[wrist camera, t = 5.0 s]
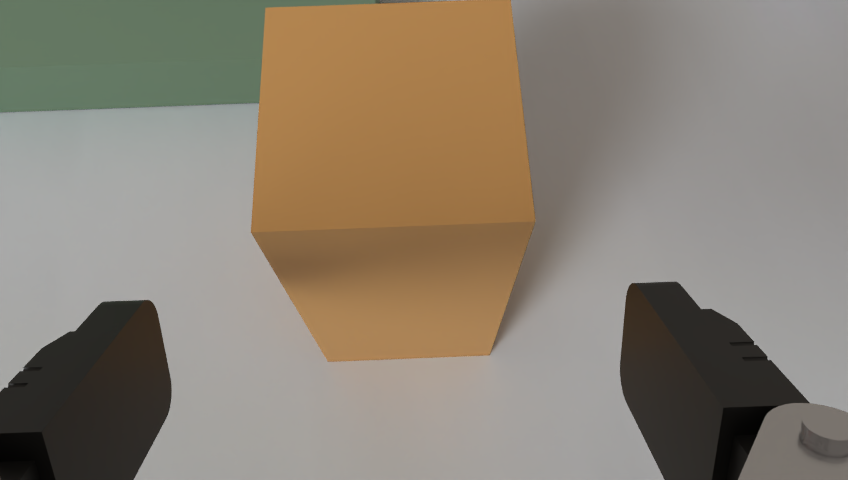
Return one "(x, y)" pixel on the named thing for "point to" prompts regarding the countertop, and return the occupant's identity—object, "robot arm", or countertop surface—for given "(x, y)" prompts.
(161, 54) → the green base plate
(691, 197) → the countertop surface
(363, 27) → the chute block
